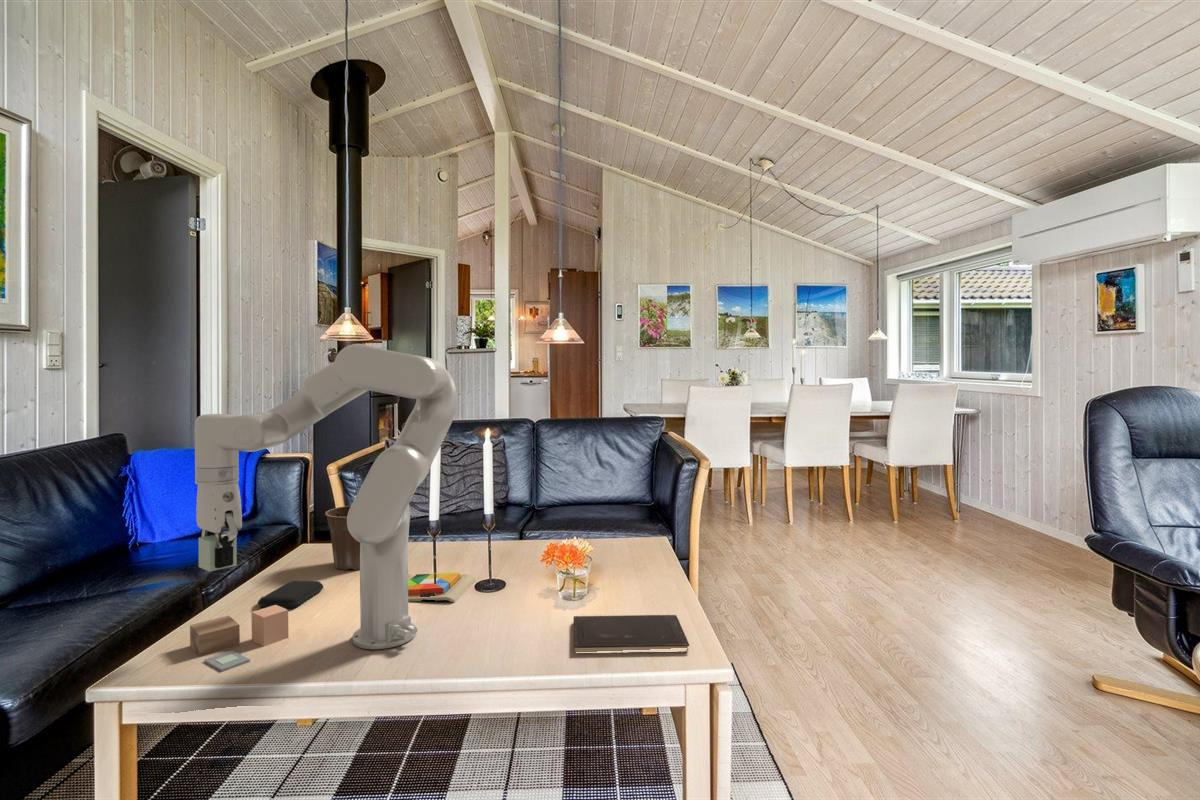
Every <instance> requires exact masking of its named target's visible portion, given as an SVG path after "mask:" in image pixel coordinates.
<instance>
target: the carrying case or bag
mask: <svg viewBox="0 0 1200 800" xmlns="http://www.w3.org/2000/svg"><path fill="white" fill-rule="evenodd" d="M323 589H324V585H323V583H321V582H320V581H318V580H291V581H289V582H286V583H285V584H283V585H281V586H280V587H277V588H276V589H274V590H273V591H271V592H270V593H267V594H266V595H264V596H261V597H260V598H259V600H258V601H257V605H259V607H260V608H261V609H263V608H267V607H270V606H273V605H277V606H280V607H282V608H285V609H291V610H294V608H295V609H296V607H297V608H299V607H300V606H301V604H302V605H303V604H305V603H306V602H308V601H309V600H311V599H312V598H313V596H314V597H315V596H316V594H317V595H318V594H320V593H321V592H322V590H323ZM310 598H311V599H310ZM307 600H308V601H307ZM304 602H305V603H304ZM298 606H299V607H298Z"/></svg>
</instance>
